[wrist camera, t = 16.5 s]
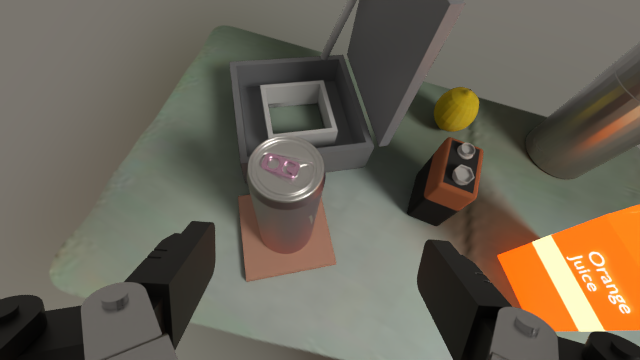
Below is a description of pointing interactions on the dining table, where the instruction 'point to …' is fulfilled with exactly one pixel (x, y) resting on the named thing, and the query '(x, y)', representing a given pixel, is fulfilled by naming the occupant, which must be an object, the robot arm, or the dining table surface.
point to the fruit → (456, 109)
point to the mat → (271, 263)
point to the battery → (446, 182)
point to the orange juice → (582, 274)
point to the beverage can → (285, 191)
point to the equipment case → (347, 80)
